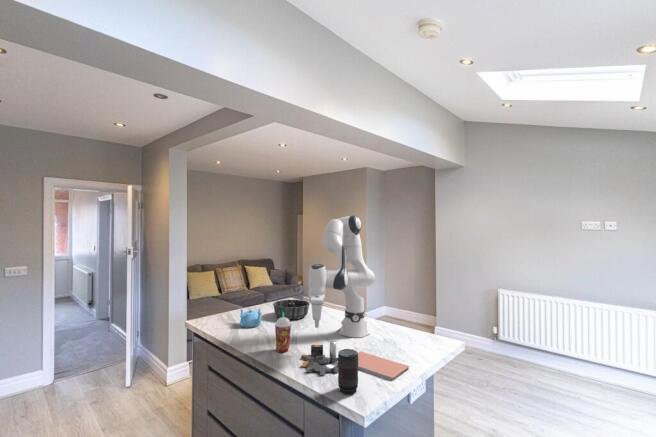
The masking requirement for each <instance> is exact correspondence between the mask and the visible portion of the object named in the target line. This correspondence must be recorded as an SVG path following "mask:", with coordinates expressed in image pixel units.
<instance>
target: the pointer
mask: <svg viewBox="0 0 656 437" xmlns="http://www.w3.org/2000/svg"><path fill="white" fill-rule="evenodd" d="M309 357H311V355H310V356H309V355H306V354H305V353H304V354H301V355H300V358H301V359H302V360H304V361H305V362H308V358H309Z"/></svg>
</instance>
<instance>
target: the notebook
mask: <svg viewBox="0 0 656 437" xmlns="http://www.w3.org/2000/svg"><path fill="white" fill-rule="evenodd" d="M357 352H358V370H359V371H360V372H364V373H366V374H369V375H372V376H375V377H379V378H381V379H383V380H386V381H387V380H388V381H392V382H394V381H395V380H396V379H397V378H398V377H399V376H401V375H402V374H403V373H405V372H406V371H408V370H409V368H410V365H408V364H405V363H404V364H403V363H401V362H397V361H394V360H390V359H387V358H384V357H380V356H377V355H374V354H371V353H367V352H364V351H357Z"/></svg>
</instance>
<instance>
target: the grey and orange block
mask: <svg viewBox="0 0 656 437" xmlns="http://www.w3.org/2000/svg"><path fill="white" fill-rule="evenodd" d="M321 355H324V344H311V346H310V357H313V358H317V357H321Z"/></svg>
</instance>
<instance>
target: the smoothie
mask: <svg viewBox="0 0 656 437" xmlns="http://www.w3.org/2000/svg"><path fill="white" fill-rule="evenodd" d="M274 327H275V328H274V332H275V349H276V351H277V353H280V354H281V353H287V352H289V350H290V343H291V333H292V332H291V329H292V323H291V321H290V320H289V319H288V318H286V317H284V312H283V317H281V318H279V317H278V319H277V320H276V322H275V323H274Z"/></svg>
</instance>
